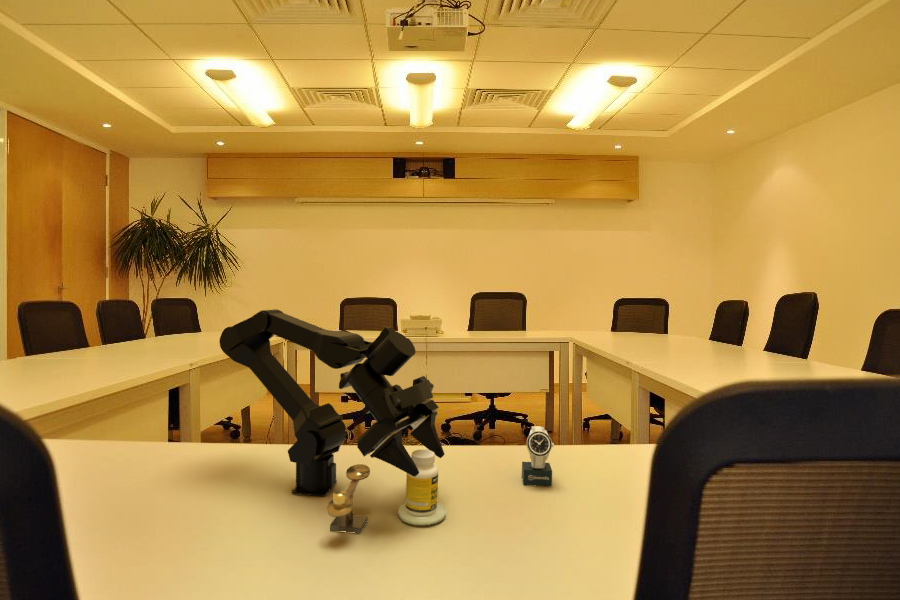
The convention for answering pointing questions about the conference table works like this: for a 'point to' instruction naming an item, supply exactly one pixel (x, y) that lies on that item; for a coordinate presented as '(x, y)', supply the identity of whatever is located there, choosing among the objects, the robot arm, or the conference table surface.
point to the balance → (348, 503)
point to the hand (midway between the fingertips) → (430, 465)
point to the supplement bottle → (422, 485)
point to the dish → (422, 520)
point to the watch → (538, 458)
